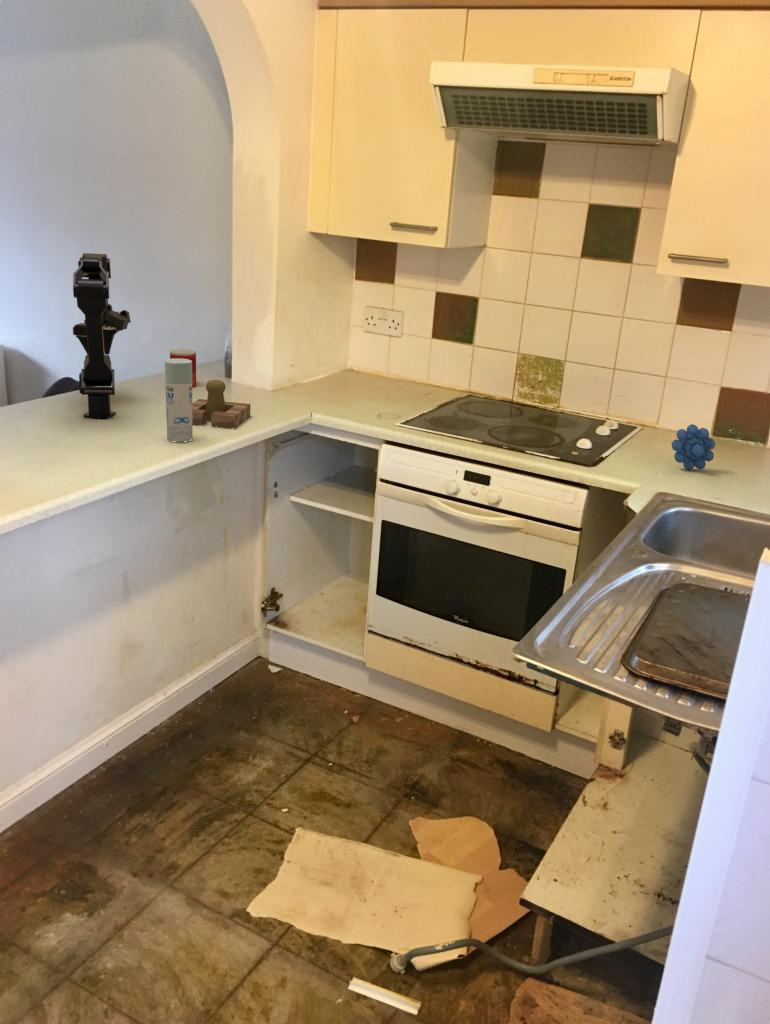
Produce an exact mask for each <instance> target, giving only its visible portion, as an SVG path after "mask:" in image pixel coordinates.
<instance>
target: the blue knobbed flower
mask: <svg viewBox="0 0 770 1024" xmlns="http://www.w3.org/2000/svg"><path fill="white" fill-rule="evenodd" d="M676 438H677V439H674V440H673V441H672V442H671V449H672V450H673V451H674V452H675V453H674V455H673V456H674V460H675V462H676V463H680V464H683V467H684V469H686V470H688V471H691V470H693V469H694V468H696V469H698V470H703V469H705V468H706V465H707V463H706V462H711V461H713V460H714V457H715V454H714V452H713V451H712V450H713V449H715V447H716V441H715V440H714V439H713V438H711V437H710V432H709V429H707V428H706V427H705V428H704V427H700V428H698V426H697V425H696V424H693V423H692V424H689V425H688V426H686V429H684V428H680V429H678V430H677V432H676Z"/></svg>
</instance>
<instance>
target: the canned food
mask: <svg viewBox="0 0 770 1024" xmlns="http://www.w3.org/2000/svg"><path fill="white" fill-rule="evenodd" d="M173 358H181V359H189V360H191V361H192V387H193V388H195V387H196V385H197V352H196V350H194V349H187V348H178V349H177V348H176V349H172V350H170V352H169V359H173Z"/></svg>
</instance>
